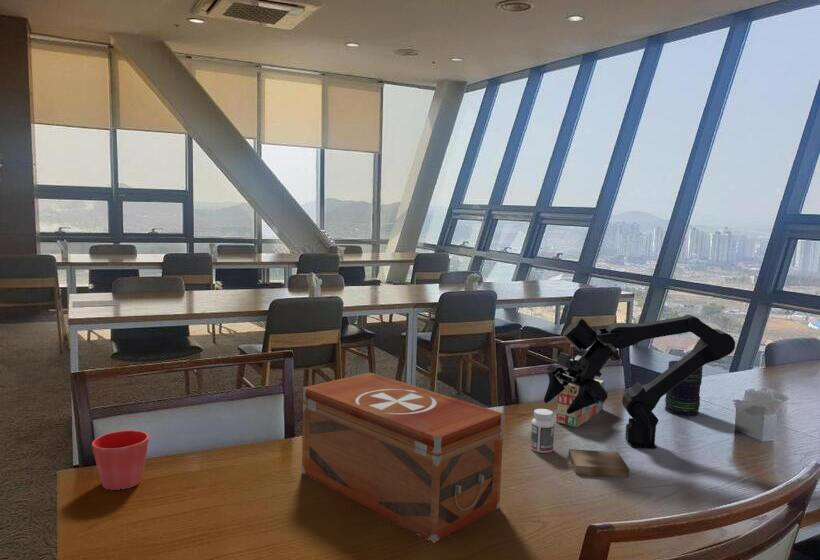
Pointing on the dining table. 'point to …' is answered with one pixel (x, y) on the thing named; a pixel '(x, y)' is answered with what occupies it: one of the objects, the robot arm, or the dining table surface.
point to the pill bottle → (542, 431)
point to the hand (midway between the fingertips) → (555, 407)
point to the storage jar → (685, 395)
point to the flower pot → (120, 458)
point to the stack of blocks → (578, 416)
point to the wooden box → (404, 451)
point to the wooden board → (598, 463)
